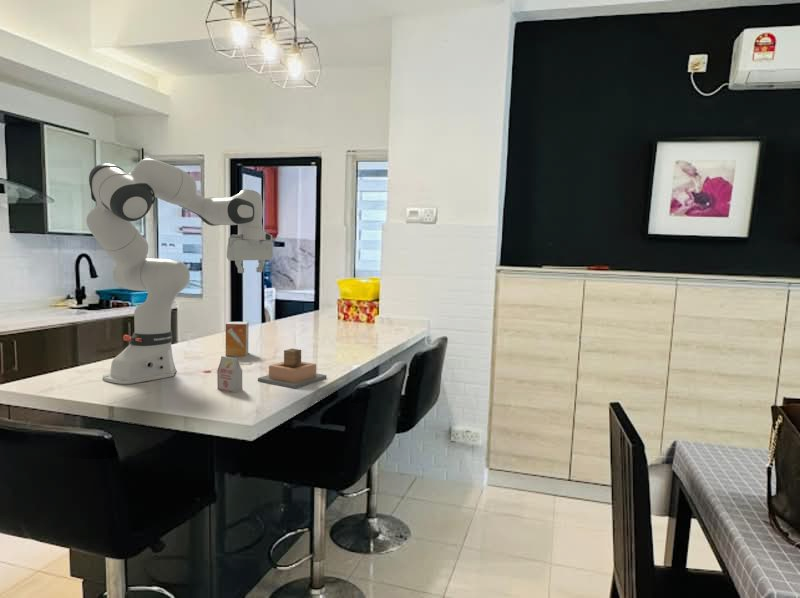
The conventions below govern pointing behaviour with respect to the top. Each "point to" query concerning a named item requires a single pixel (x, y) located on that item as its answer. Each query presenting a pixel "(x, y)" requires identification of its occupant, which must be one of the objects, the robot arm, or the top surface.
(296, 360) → the tall wooden block
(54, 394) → the top surface
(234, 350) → the small box
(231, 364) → the white carton
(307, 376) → the tan square frame
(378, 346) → the top surface
